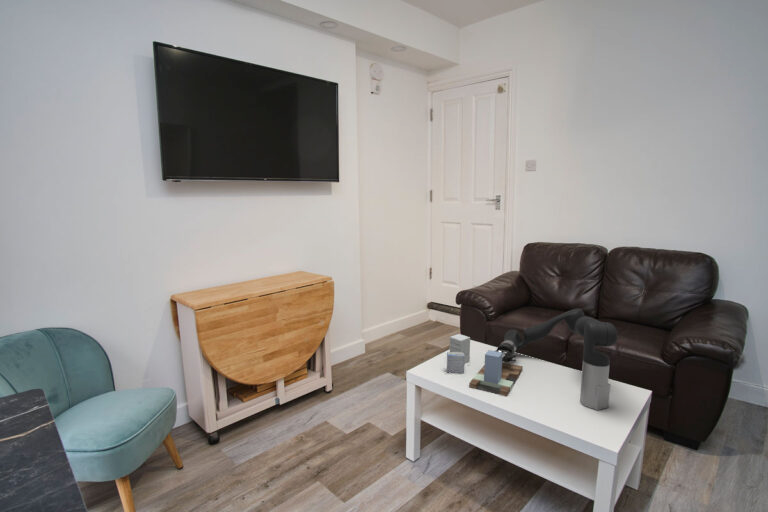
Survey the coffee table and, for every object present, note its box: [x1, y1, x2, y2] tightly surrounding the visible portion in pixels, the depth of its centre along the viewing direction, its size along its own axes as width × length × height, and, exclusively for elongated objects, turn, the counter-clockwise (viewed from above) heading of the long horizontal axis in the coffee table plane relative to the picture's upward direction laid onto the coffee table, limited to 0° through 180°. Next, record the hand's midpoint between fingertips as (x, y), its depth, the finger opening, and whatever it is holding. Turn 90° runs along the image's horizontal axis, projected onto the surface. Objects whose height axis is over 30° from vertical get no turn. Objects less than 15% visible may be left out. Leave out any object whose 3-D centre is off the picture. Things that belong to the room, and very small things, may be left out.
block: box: [483, 349, 503, 384], centre depth 174 cm, size 6×6×12 cm
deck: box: [468, 361, 524, 397], centre depth 181 cm, size 30×16×2 cm, turn 150°
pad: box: [472, 373, 514, 392], centre depth 175 cm, size 6×16×2 cm, turn 60°
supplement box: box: [449, 333, 471, 364], centre depth 200 cm, size 7×7×13 cm
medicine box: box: [446, 351, 465, 374], centre depth 188 cm, size 8×4×9 cm, turn 84°
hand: (497, 362), depth 179 cm, fingers closed
